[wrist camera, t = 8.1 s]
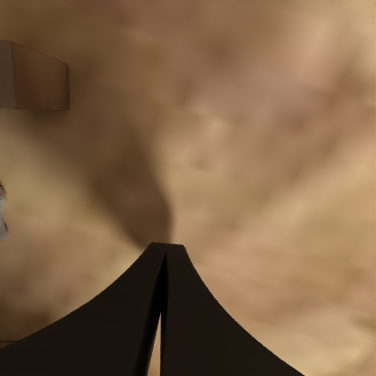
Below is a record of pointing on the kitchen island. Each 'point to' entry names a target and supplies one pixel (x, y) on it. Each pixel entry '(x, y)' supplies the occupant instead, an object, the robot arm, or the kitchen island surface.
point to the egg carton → (0, 228)
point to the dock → (31, 83)
